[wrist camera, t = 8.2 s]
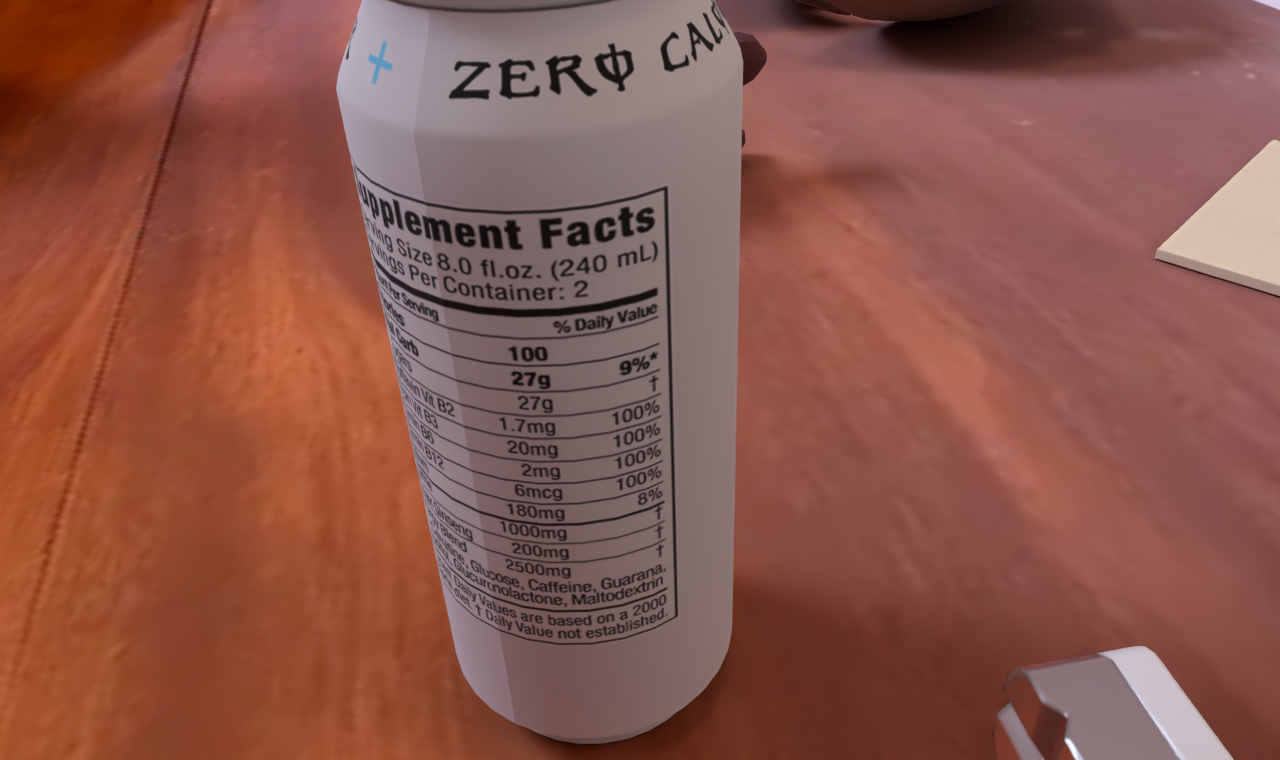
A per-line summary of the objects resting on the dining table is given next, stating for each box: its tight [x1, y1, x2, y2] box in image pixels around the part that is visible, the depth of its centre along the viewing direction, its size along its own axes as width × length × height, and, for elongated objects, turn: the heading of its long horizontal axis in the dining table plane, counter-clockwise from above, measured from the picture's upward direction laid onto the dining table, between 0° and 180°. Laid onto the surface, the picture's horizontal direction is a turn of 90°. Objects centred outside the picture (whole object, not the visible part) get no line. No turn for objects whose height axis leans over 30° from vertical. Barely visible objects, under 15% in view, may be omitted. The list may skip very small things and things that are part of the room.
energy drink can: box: [336, 0, 743, 744], centre depth 19 cm, size 6×6×15 cm
